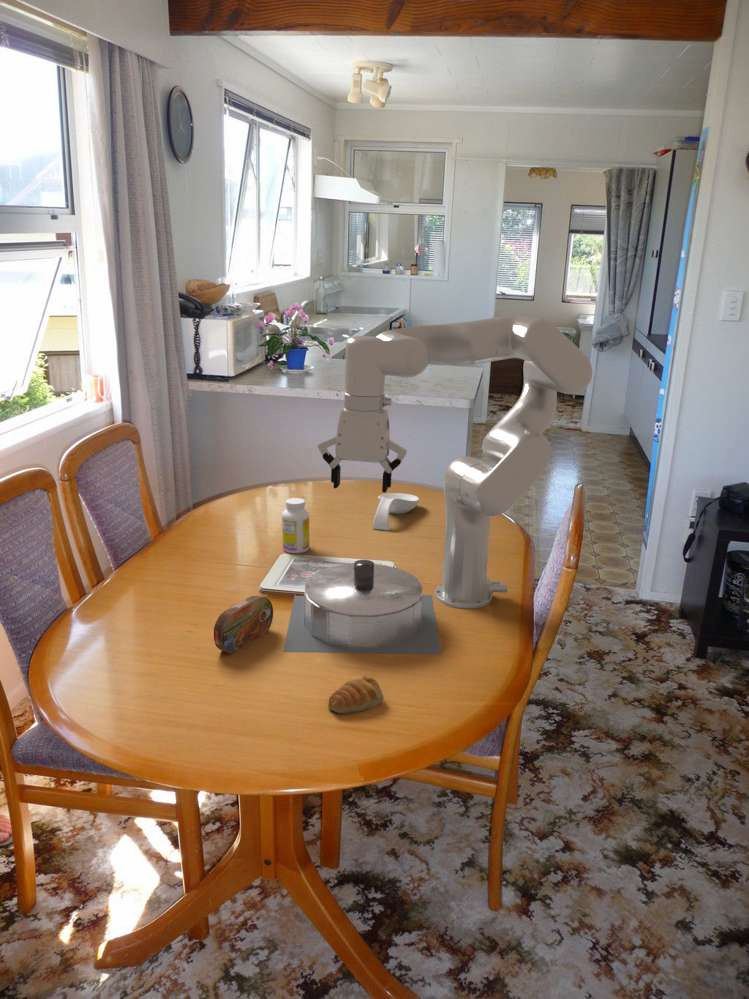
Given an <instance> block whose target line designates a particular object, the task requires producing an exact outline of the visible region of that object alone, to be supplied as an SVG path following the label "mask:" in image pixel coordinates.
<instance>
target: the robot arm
mask: <svg viewBox="0 0 749 999" xmlns="http://www.w3.org/2000/svg"><path fill="white" fill-rule="evenodd" d="M510 359H520V360H524V361H523V365H522V366H523V368H522V371H523V372H522V373H523V387H522V391H521V394H520V397H519V398H518V400H517V401H516V402H515V404H514V405H513V406H512V407H511V408H510V410H508V411H507V412H506V413H505V415H503V416H502V417H501V419H500V420H498V422H496V424H495V425H494V426H493V427H492V428H491V429H490V430H489V431H488V432H487V434H486V435H485V436H484V438H483V441H482V445H481V450H482V452H483V454H484V456H485V458H487V460H489V461H490V462H491V463H493V464H495V465H494V466H492V465H491V464H490V463H487V462H485V461H483V460H480V459H479V458H476V457H472V456H461V457H457V458H456V459H454V460H453V461H451V462H450V463H449V464H448V466H447V467H446V470H445V471H444V475H443V492H444V493H443V494H444V503H445V527H444V528H445V529H444V546H443V562H442V563H443V564H442V583H441V584H438V585H437V586H436V587H435V589H434V597H435V599H436V600H437V601H438V602H440V604H443V605H446V606H448V607H452V608H457V609H465V610H466V609H471V610H472V609H477V608H478V609H479V608H482V607H485V606H487V605H489V604H490V603H491V602H492V600H493V593H503V594H505V593H506V594H507V593H508V584H507V583H501V581H500V580H497V579H496V580H495V579H494V580H490V579H489V578H488V576H487V573H488V572H487V571H488V562H489V561H488V560H489V544H490V533H491V517H497V516H500V515H502V514H505V513H506V512H507V511H508V510H510V509H511V508H512V507H513V506H514V505H515V504H516V503H518V501H519V500H520V499H521V498H522V497H523V496H524V494H525V493H526V492H527V491H528V490H530V488H531V487H532V486H533V485H534V484H535V483H536V482H537V481H538V480H539V478H541V476H542V475H543V474H544V472H545V471H546V469H547V468H548V465H549V464H550V461H551V457H552V456H551V455H552V447H551V444H550V442H549V441H548V439H547V437H546V436H545V435H543V434H544V433H545V431H546V430H547V429H548V428H549V427H550V425H551V423H552V422H553V421H554V418H555V415H556V411H557V402H558V398H557V397H558V393H561V394H565V395H576V394H579V393H581V392H583V391H584V390H585V389H586V388H587V387H588V386H589V385H590V383H591V381H592V378H593V366H592V363H591V361H590V359H589V358H588V357H587V355H586V354H585V353H584V351H582V350H581V349H580V348H579V347H578V346H577V345H576V344H574V343H573V341H572V340H570V339H569V338H568V337H567V335H565V334H564V333H563V331H561V330H560V329H559V328H558V327H556V326H555V325H554V324H552V322H549V321H548V320H546V319H543V318H539V317H534V316H528V315H523V314H510V315H504V316H497V317H496V316H495V317H490V318H485V319H479V320H473V321H472V320H471V321H464V322H463V321H462V322H450V323H442V324H428V325H417V326H415V325H414V326H409V327H403V328H396V329H390V330H385V331H383V332H380V333H379V334H378V335H376V336H374V335H373V336H372V335H355V336H354V335H353V336H352V337H350V338H348V339H347V341H346V344H345V362H344V364H345V365H344V366H345V370H344V397H343V398H344V401H343V402H344V403H343V404H344V405H343V406H342V407H341V408H340V411H339V415H338V419H337V420H338V421H337V428H336V435H335V436H333V437H330V438H329V439H327V440H324V441H321V442H319V444H318V445H317V448H318V450H319V453H320V454H321V456H322V459H323V460H324V461H325V463H326V464H328V465H329V468H330V469H331V473H330V483H331V484H332V483H333V489H337V488H339V486H340V484H341V467H342V466H341V464H340V463H341V461H347V462H360V463H361V462H362V463H375V464H380V466H381V467H382V468H383V470H384V471H383V473H382V486H381V487H382V490H381V491H382V493H383V494H387V491H388V489H389V488H391V487H392V474H393V473H392V472H393V471H394V470H395V469H396V468H398V467H399V466H400V465H401V463H402V462H403V460H404V459H405V457H406V456H407V452H408V450H407V449H405V448H404V447H403V446H400V445H399V444H397V443H396V442H394V441H392V440H391V439H390V438H391V437H390V436H391V435H390V418H389V417H390V416H389V411H388V409H386V408H385V407H387V406H392V398H389V397H387V396H386V395H385V384H386V383H385V381H386V376H391V377H401V378H414V377H416V376H419V375H420V374H422V373H423V372H424V371H425V370H426V369H427V367H428V366H429V364H431V363H433V364H435V363H436V364H444V365H451V366H458V367H459V366H467V367H469V366H475V365H480V364H486V363H491V362H497V361H502V360H510ZM331 446H332V447H333V446H335V449H334V450H335V453H334V454H335V456H333V454H332V453H330V452H329V449H328V448H329V447H331ZM390 450H391V451H393V452H394V453H396V454H397V455H396V456H397V457H395V459H393V460H392V461H391V460H390V458H388V456H389V454H390Z"/></svg>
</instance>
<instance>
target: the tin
mask: <svg viewBox="0 0 749 999" xmlns="http://www.w3.org/2000/svg"><path fill="white" fill-rule="evenodd" d="M273 617H274V606H273V603H272V601H271V600H270V599H269V598H267V597H266V596H260V595H259V596H258V595H250V596H249V597H246V598H245V599H243V600H241V601H240V602H238V603H236V604H235V605H233V606H231V607H230V608H227V609H226V610H224V611H222V613H221V614H220V615H218V617H217V620H216V621H215V623H214V625H213V626H214V627H213V642H214V645H215V647H216V648H217V649H218V650H220V651H222V652H224V653H227V654H228V655H229V654H230V655H233V654H235V652H236V651H238V650H239V649H241V648H243V647H245V646H246V645H248V644H250V643H252V642H253V641H255V640H257V639H258V638H260V637H261V636H264V635H265V634H267V633H268V632H269V630H270V627H271V626H272V623H273V619H274V618H273Z"/></svg>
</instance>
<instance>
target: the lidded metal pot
mask: <svg viewBox="0 0 749 999" xmlns="http://www.w3.org/2000/svg"><path fill="white" fill-rule="evenodd" d="M303 593H304V626H305V627H306V628H307V630H308V631H309V632H310V634H311V636H312V637H315V638H317V639H319V640H321V641H322V642H324V643H326V644H328V645H333V646H337V647H341V648H346V649H350V650H377V649H382V648H387V647H393V646H398V645H400V644H402V643H404V642H406V641H408V640H410V639H412V638H414V636H415V635H416V634H417V632H418V631H419V630H420V628H421V627H422V607H423V595H424V594H423V587H422V584H421V581H420V580H419V579H418V578H417V577H415V576H414V575H413V574H411V573H409V572H407V571H405V570H403V569H400V568H397V567H393V566H390V565H389V566H388V565H384V564H379V563H374V561H372V560H369V559H359V560H356V561H354V563H344V564H340V565H339V564H338V565H334V566H331V567H326V568H324V569H321V570H319V571H317V572H315V573H314V574H312V575H311V576H310V577H309V578H308V579H307V580H306V582H305V584H304V592H303Z"/></svg>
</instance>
